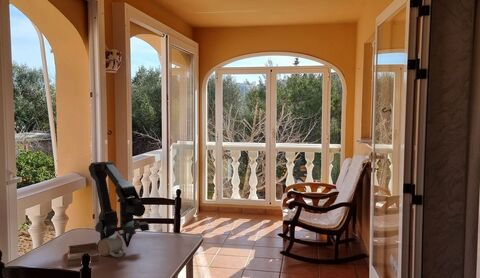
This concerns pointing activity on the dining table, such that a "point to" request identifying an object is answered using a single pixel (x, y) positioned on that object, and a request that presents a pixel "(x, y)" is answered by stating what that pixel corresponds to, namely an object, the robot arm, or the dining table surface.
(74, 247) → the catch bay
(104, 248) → the ceramic mug
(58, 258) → the dining table surface
